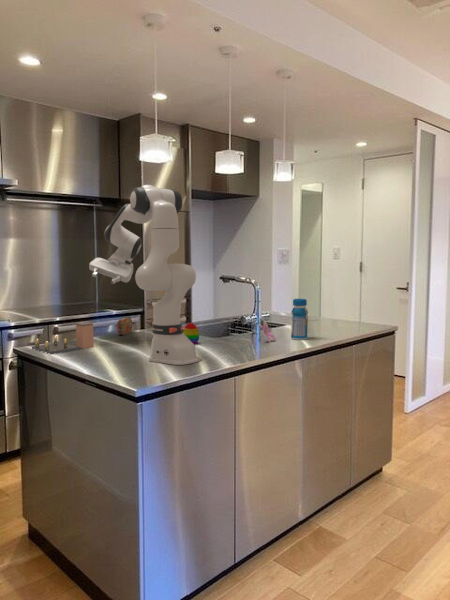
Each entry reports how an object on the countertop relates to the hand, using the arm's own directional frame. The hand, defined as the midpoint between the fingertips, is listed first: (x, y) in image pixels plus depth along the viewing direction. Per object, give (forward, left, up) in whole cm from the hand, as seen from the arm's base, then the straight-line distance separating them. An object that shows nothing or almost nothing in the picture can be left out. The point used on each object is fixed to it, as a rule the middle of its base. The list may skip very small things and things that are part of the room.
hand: (103, 279), depth 223 cm
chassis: (+10, +19, -31) cm, 38 cm away
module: (+5, +7, -31) cm, 33 cm away
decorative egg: (-26, -31, -32) cm, 51 cm away
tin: (+21, -27, -32) cm, 46 cm away
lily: (-50, -59, -32) cm, 83 cm away
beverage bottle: (-58, -76, -32) cm, 100 cm away
